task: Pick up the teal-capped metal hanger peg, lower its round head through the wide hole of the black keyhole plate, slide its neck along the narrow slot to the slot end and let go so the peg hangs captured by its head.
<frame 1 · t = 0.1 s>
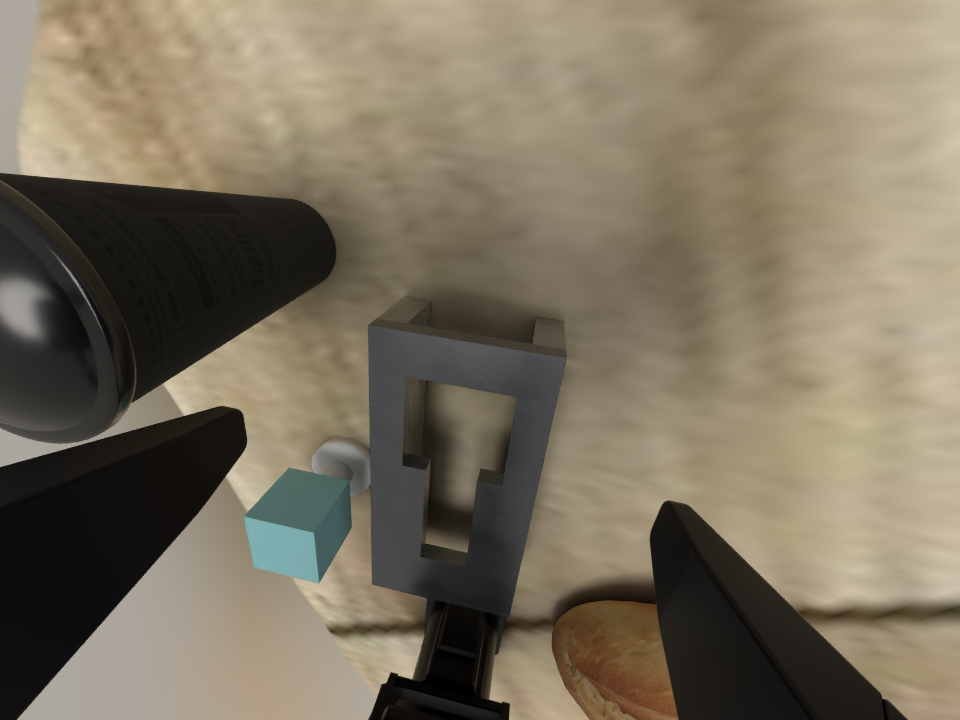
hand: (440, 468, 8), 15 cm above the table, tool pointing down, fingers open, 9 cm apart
keyhole plate: (467, 440, 26), on the table
bread roll: (651, 615, 30), on the table
hanger peg: (347, 462, 28), on the table
drinking cup: (297, 244, 23), on the table
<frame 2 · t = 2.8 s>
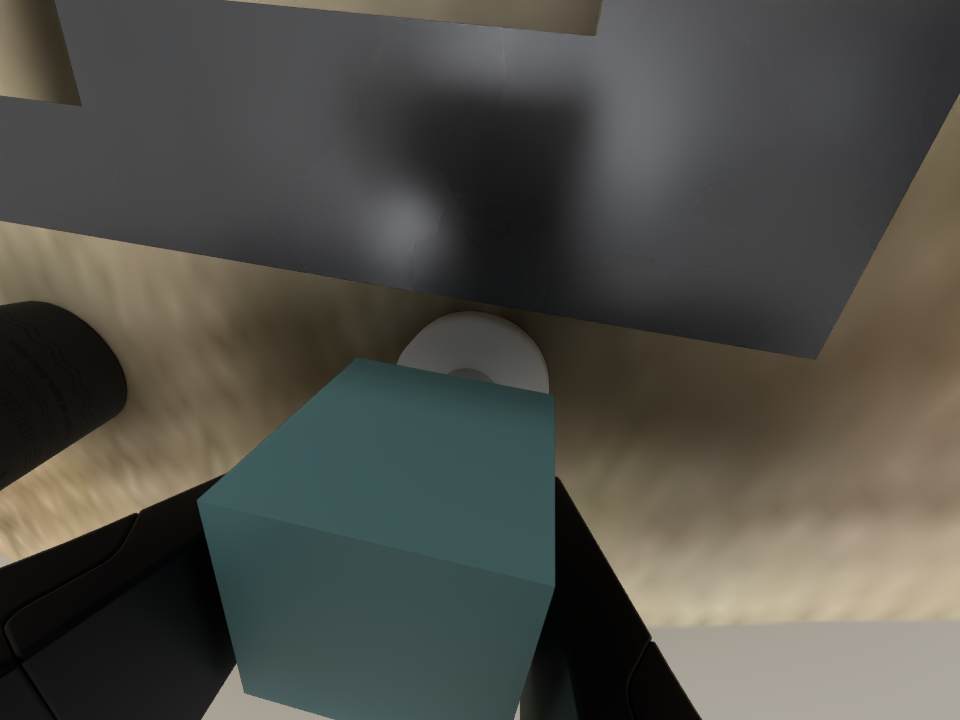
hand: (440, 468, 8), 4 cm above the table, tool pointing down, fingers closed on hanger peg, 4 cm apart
keyhole plate: (341, 8, 9), on the table
hanger peg: (474, 381, 12), on the table, touching gripper
drinking cup: (73, 363, 15), on the table
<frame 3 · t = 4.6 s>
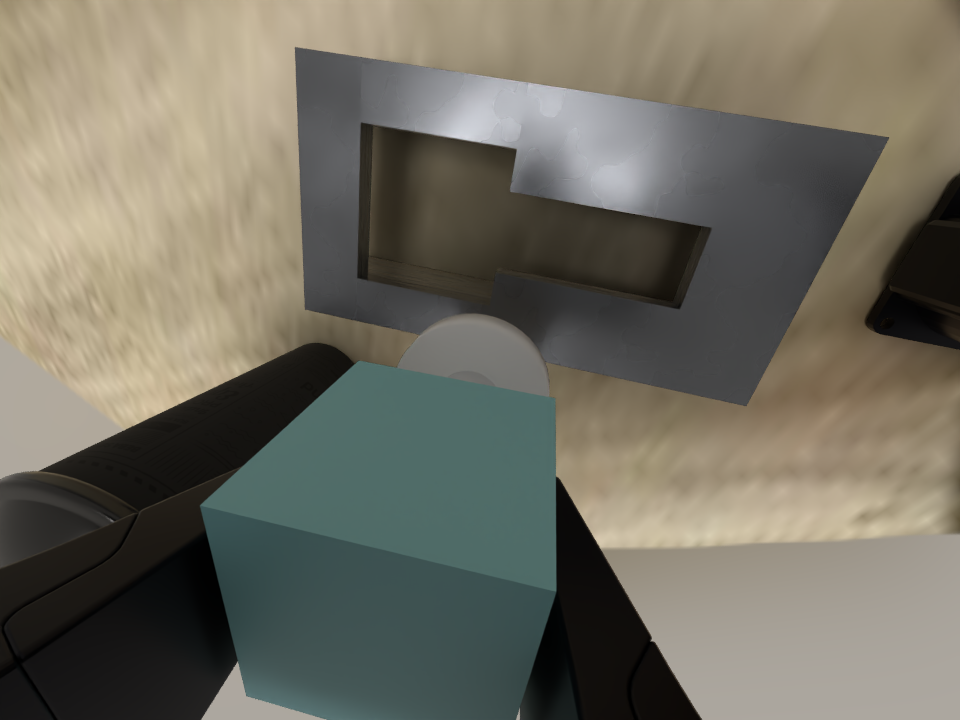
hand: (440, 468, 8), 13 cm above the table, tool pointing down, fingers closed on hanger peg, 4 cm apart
keyhole plate: (543, 226, 18), on the table
hanger peg: (475, 383, 12), point 9 cm above the table, touching gripper
drinking cup: (326, 378, 24), on the table
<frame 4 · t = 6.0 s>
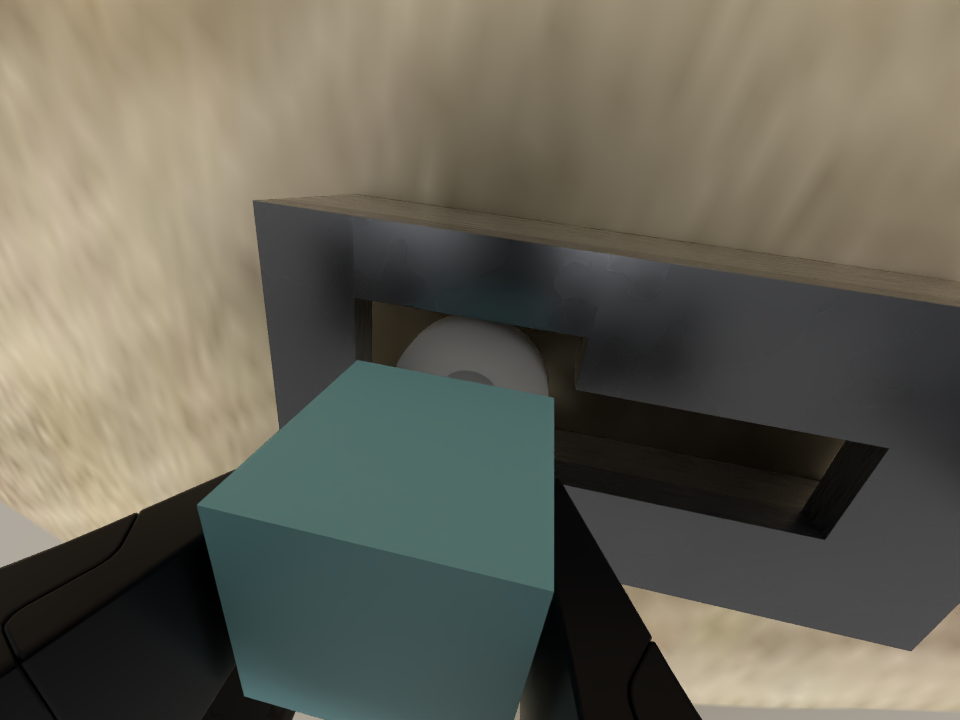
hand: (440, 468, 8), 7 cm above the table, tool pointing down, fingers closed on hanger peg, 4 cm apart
keyhole plate: (596, 364, 14), on the table
hanger peg: (474, 383, 12), point 3 cm above the table, touching gripper
drinking cup: (324, 517, 20), on the table
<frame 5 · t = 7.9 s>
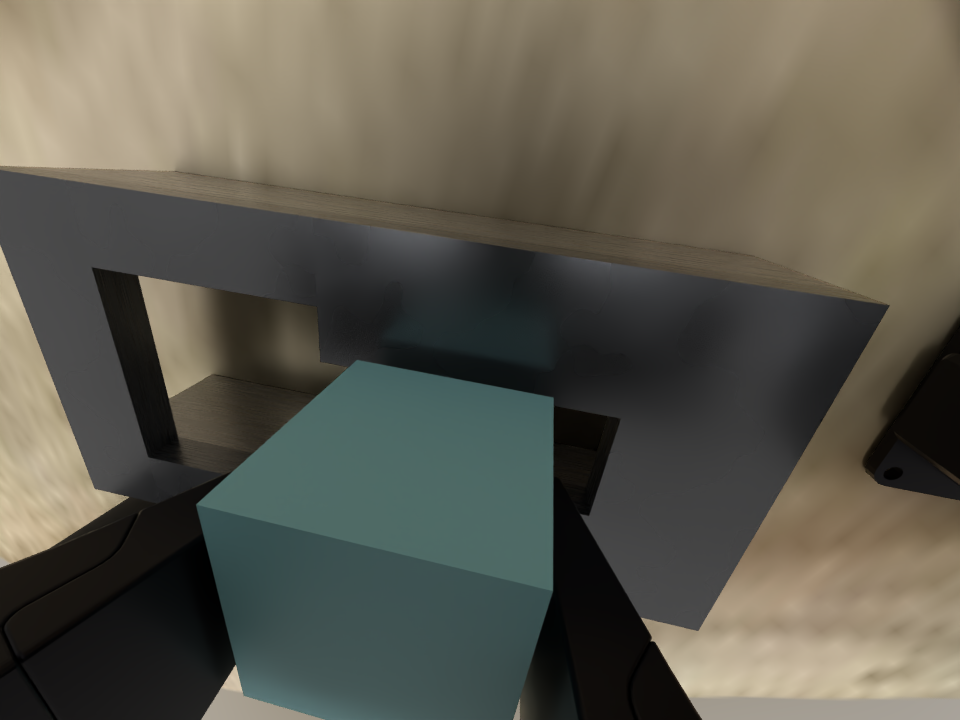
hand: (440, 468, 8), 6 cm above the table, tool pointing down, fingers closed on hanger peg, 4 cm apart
keyhole plate: (431, 345, 14), on the table
hanger peg: (474, 383, 12), point 2 cm above the table, touching gripper
drinking cup: (205, 506, 20), on the table
when the fingers open (6 cm above the table, at t = 9.5 s): hanger peg stays where it is, resting on keyhole plate.
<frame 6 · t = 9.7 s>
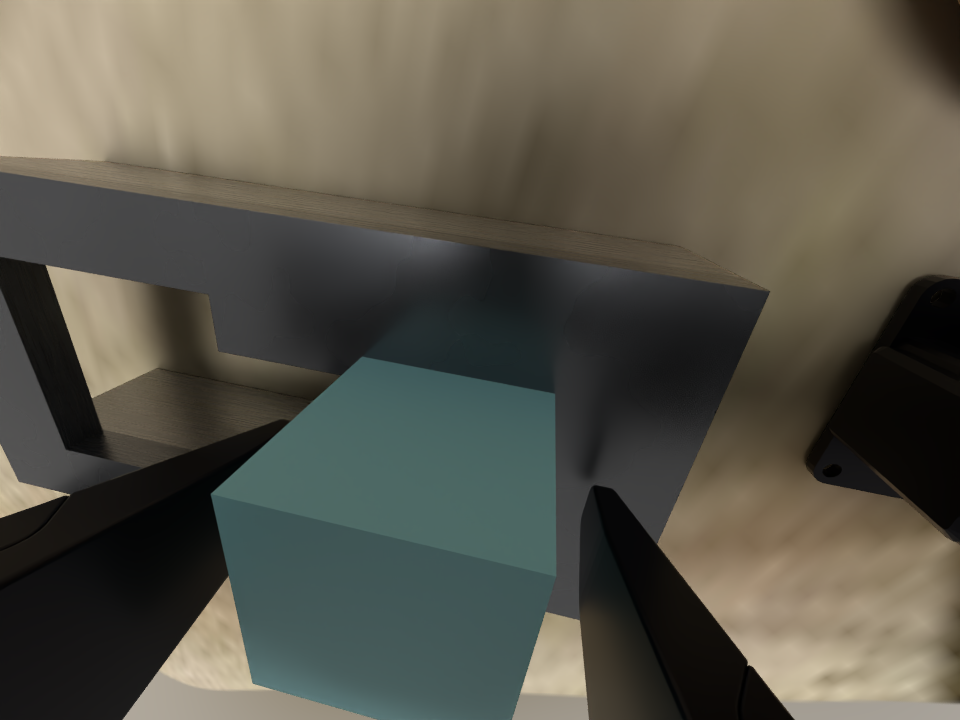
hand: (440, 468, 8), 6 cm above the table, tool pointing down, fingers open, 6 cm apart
keyhole plate: (369, 339, 14), on the table
hanger peg: (475, 380, 12), point 1 cm above the table, touching keyhole plate
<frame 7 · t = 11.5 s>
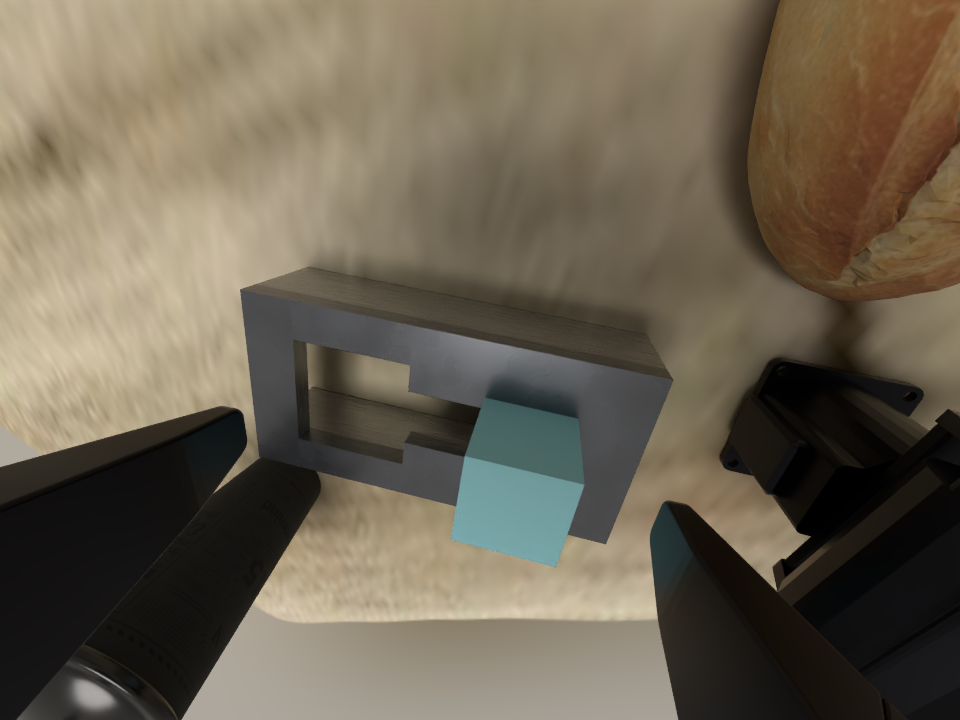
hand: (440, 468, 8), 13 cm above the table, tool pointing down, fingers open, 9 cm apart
keyhole plate: (458, 375, 22), on the table
bread roll: (855, 85, 15), on the table
hanger peg: (527, 405, 21), point 1 cm above the table, touching keyhole plate
drinking cup: (291, 476, 28), on the table
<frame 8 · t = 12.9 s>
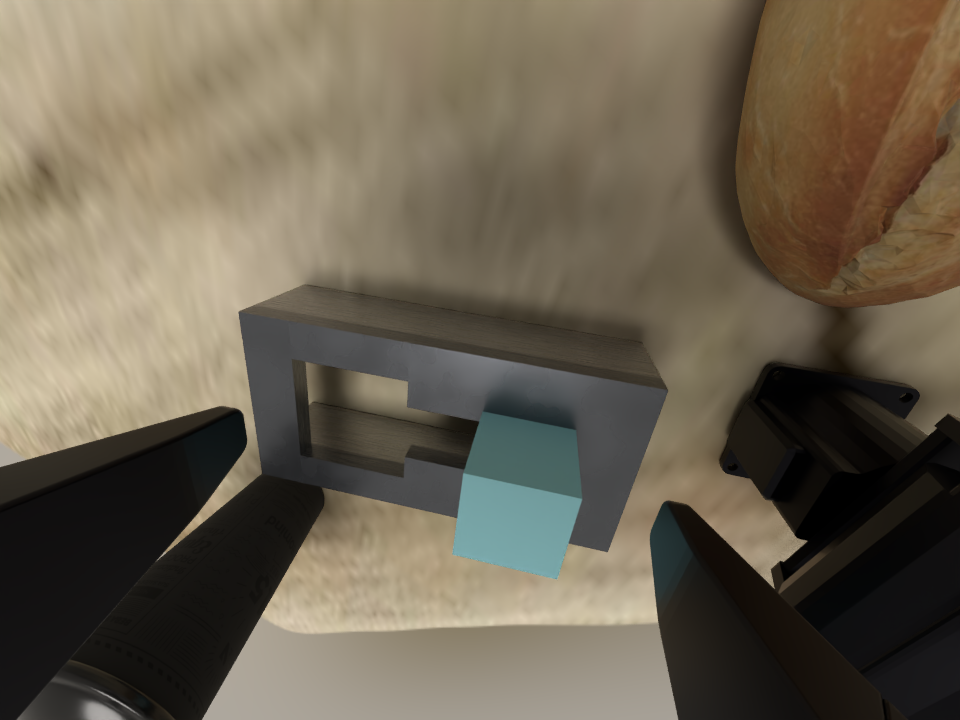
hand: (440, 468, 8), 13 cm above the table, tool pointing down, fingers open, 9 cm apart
keyhole plate: (457, 387, 22), on the table
bread roll: (840, 93, 15), on the table
hanger peg: (526, 415, 21), point 1 cm above the table, touching keyhole plate
drinking cup: (294, 490, 28), on the table
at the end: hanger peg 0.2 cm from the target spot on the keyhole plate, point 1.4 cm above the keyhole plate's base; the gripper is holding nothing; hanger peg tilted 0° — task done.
